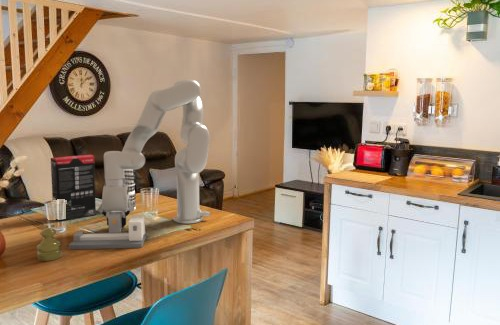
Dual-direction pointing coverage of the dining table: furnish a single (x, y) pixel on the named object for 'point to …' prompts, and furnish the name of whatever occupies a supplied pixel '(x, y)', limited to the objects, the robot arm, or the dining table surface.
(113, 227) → the grey module
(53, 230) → the olive green chess pawn
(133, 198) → the striped tall cylinder
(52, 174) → the graphics card box
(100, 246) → the rail board
